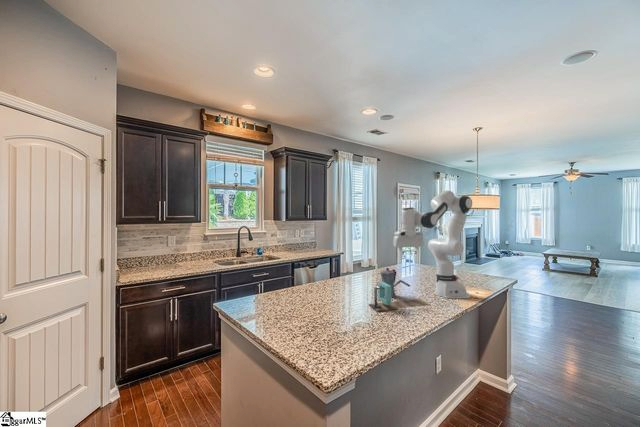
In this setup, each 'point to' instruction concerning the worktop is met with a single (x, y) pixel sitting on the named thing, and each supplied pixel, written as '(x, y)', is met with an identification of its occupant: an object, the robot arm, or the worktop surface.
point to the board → (400, 305)
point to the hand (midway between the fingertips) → (408, 253)
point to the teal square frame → (387, 293)
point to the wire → (383, 288)
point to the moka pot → (389, 279)
